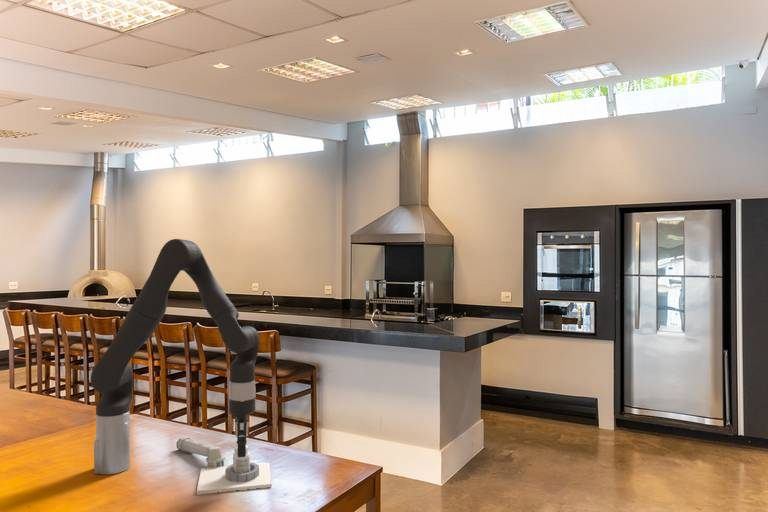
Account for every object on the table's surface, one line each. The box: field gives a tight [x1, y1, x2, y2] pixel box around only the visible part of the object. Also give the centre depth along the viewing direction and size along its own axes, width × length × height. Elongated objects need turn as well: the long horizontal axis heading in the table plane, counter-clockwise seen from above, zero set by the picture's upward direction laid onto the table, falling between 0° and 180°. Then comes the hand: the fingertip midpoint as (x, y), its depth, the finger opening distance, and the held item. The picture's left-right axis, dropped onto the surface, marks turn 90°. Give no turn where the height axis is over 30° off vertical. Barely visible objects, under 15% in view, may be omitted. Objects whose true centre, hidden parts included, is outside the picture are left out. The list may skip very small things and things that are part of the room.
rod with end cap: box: [176, 437, 226, 468], centre depth 180 cm, size 5×7×25 cm
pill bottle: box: [232, 444, 251, 473], centre depth 164 cm, size 5×5×8 cm
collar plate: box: [196, 461, 273, 495], centre depth 164 cm, size 20×16×3 cm
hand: (241, 451), depth 165 cm, fingers open, 8 cm apart
